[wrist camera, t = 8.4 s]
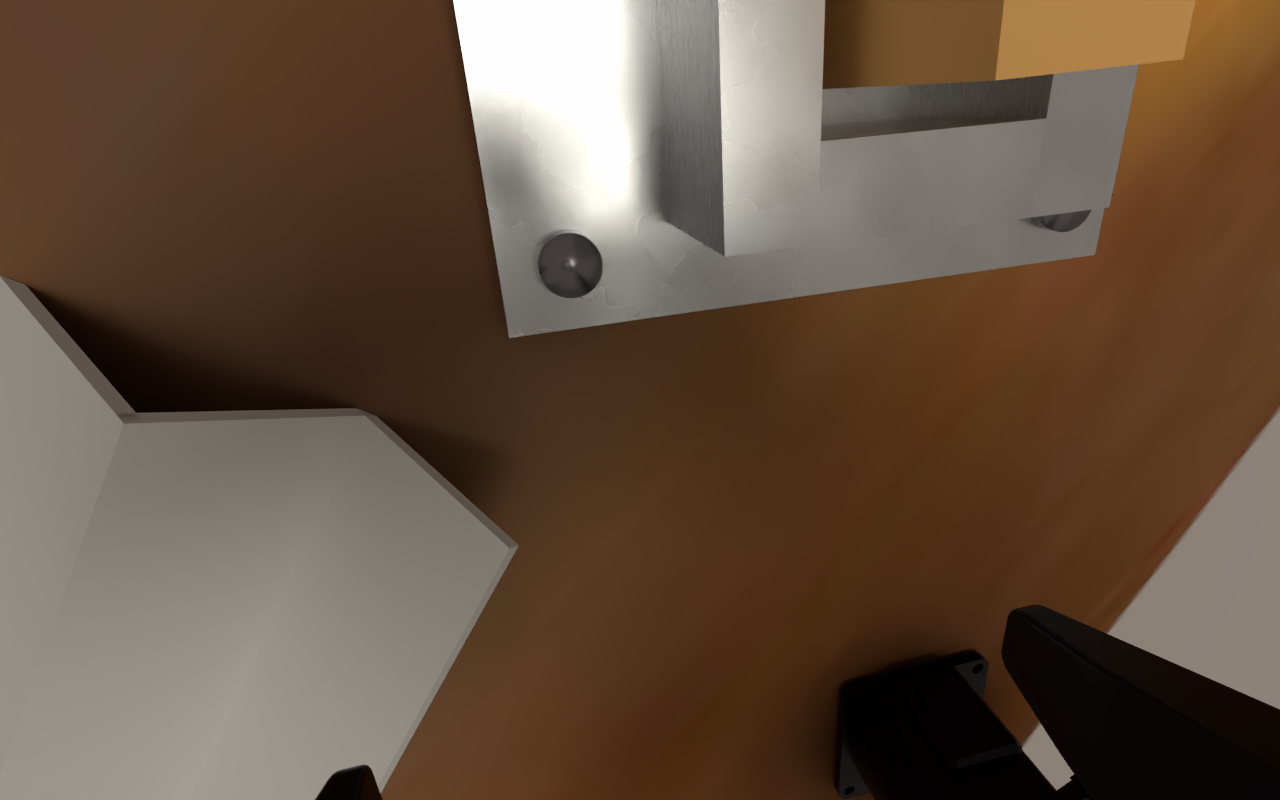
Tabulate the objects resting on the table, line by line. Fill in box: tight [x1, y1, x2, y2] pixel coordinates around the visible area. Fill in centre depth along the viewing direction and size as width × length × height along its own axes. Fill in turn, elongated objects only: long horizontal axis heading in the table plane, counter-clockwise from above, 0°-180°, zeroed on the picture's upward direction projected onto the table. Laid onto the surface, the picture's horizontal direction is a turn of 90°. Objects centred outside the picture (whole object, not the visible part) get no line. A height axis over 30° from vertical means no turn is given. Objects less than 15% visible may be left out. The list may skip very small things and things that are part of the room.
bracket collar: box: [453, 0, 1139, 338], centre depth 15 cm, size 14×18×6 cm
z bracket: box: [0, 276, 519, 800], centre depth 19 cm, size 12×25×6 cm
